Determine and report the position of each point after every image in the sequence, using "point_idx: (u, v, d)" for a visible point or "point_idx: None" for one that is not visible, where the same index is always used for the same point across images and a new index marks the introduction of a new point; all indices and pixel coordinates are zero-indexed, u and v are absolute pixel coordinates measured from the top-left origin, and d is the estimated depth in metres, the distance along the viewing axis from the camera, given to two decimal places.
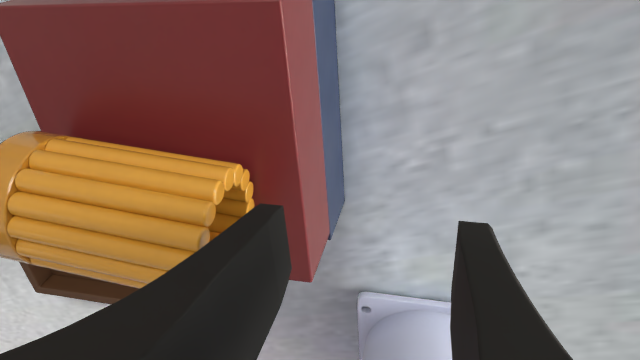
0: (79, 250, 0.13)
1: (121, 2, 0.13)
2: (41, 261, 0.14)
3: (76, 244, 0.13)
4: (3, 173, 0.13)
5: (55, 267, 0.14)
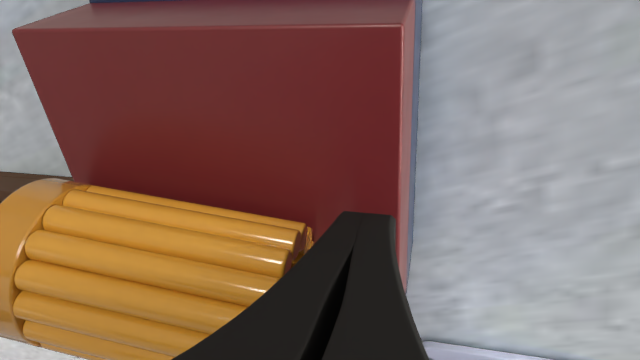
0: (105, 338, 0.10)
1: (184, 26, 0.10)
2: None
3: (102, 331, 0.10)
4: (10, 237, 0.10)
5: (72, 353, 0.11)
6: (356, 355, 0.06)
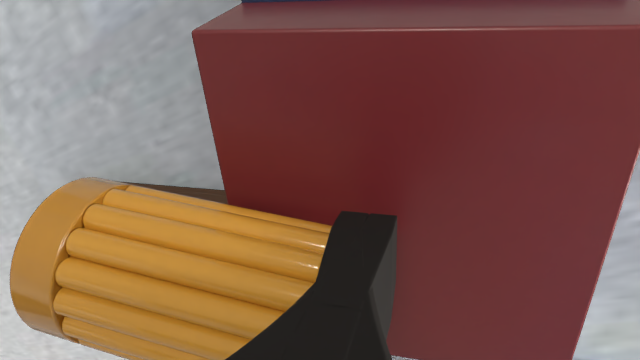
0: (141, 337, 0.10)
1: (403, 27, 0.09)
2: None
3: (138, 331, 0.10)
4: (52, 234, 0.10)
5: (108, 351, 0.11)
6: (317, 349, 0.06)
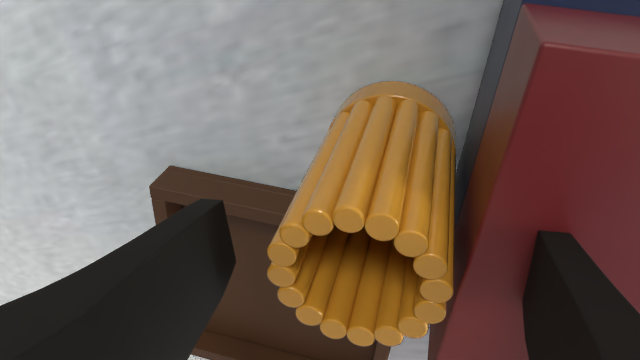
0: None
1: None
2: None
3: (309, 167, 0.13)
4: (360, 96, 0.14)
5: None
6: None
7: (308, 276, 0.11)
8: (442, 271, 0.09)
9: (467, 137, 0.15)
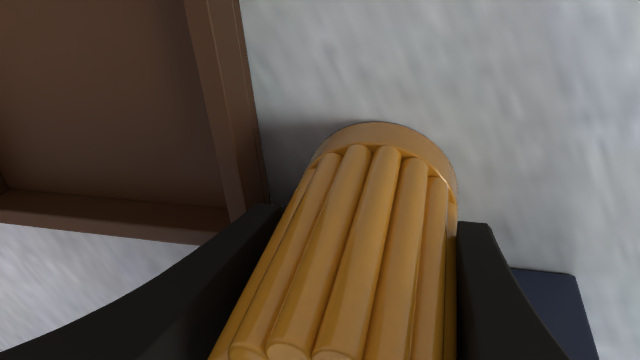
0: (367, 200, 0.09)
1: None
2: (332, 161, 0.11)
3: (379, 200, 0.09)
4: (446, 173, 0.11)
5: (323, 170, 0.11)
6: None
7: None
8: None
9: None
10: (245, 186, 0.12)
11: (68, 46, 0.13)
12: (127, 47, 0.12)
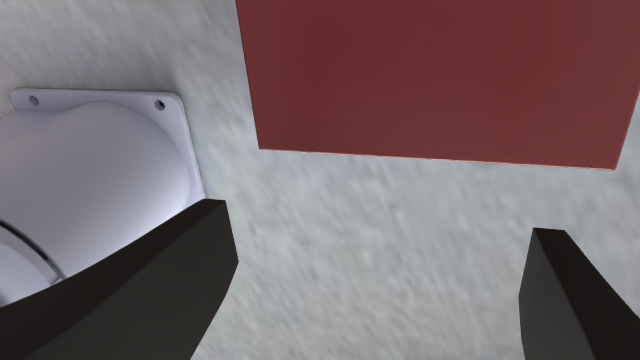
0: None
1: None
2: None
3: None
4: None
5: None
6: None
7: None
8: None
9: None
10: None
11: None
12: None
